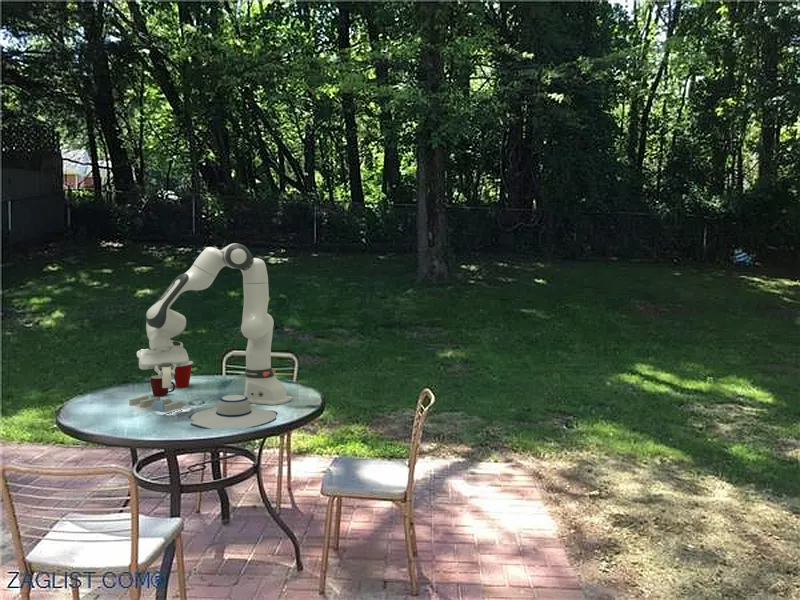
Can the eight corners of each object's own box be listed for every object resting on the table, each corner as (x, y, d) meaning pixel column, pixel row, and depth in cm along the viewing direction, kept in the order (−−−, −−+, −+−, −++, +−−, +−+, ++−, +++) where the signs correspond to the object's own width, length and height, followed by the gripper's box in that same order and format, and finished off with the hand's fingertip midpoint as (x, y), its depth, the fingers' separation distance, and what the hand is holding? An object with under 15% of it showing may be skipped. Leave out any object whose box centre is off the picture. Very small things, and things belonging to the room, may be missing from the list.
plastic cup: (170, 385, 343) (169, 361, 342) (193, 383, 346) (192, 360, 345) (170, 390, 333) (169, 365, 332) (193, 388, 336) (193, 364, 335)
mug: (174, 395, 322) (173, 373, 321) (176, 398, 315) (176, 377, 314) (150, 397, 318) (149, 375, 317) (152, 401, 311) (151, 379, 310)
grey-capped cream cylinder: (173, 386, 293) (173, 363, 292) (166, 388, 289) (166, 364, 288) (167, 385, 295) (166, 362, 294) (160, 387, 291) (159, 363, 290)
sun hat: (177, 415, 291) (177, 393, 290) (260, 404, 310) (259, 384, 309) (202, 436, 260) (202, 412, 259) (292, 423, 279) (292, 400, 278)
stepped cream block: (182, 410, 295) (182, 397, 294) (165, 415, 287) (165, 402, 286) (146, 404, 305) (145, 391, 305) (128, 408, 297) (128, 396, 296)
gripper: (136, 345, 291) (142, 372, 283) (186, 342, 301) (192, 368, 294) (134, 354, 295) (139, 381, 288) (183, 350, 306) (189, 376, 298)
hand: (167, 374), depth 291 cm, fingers closed on grey-capped cream cylinder, 4 cm apart
